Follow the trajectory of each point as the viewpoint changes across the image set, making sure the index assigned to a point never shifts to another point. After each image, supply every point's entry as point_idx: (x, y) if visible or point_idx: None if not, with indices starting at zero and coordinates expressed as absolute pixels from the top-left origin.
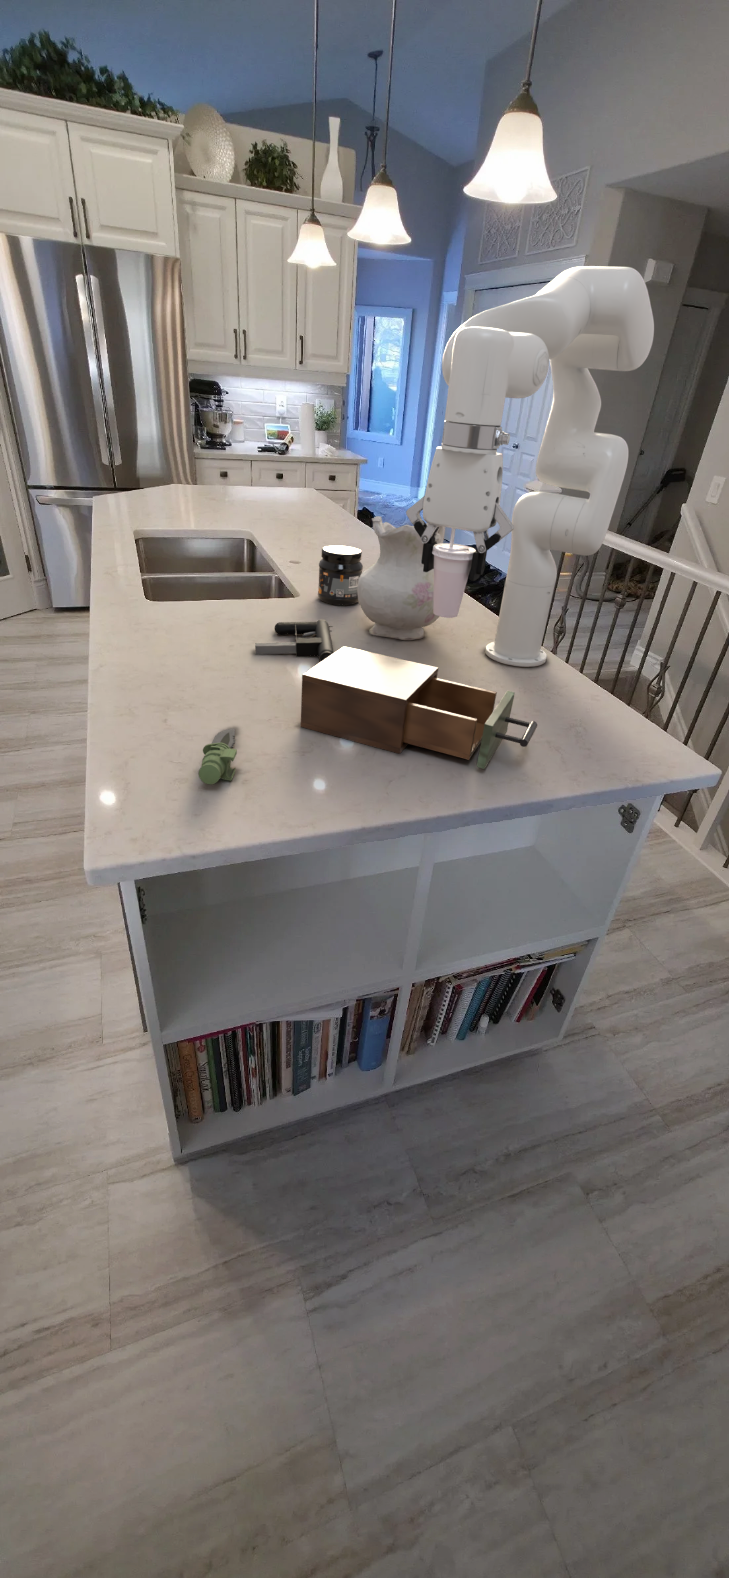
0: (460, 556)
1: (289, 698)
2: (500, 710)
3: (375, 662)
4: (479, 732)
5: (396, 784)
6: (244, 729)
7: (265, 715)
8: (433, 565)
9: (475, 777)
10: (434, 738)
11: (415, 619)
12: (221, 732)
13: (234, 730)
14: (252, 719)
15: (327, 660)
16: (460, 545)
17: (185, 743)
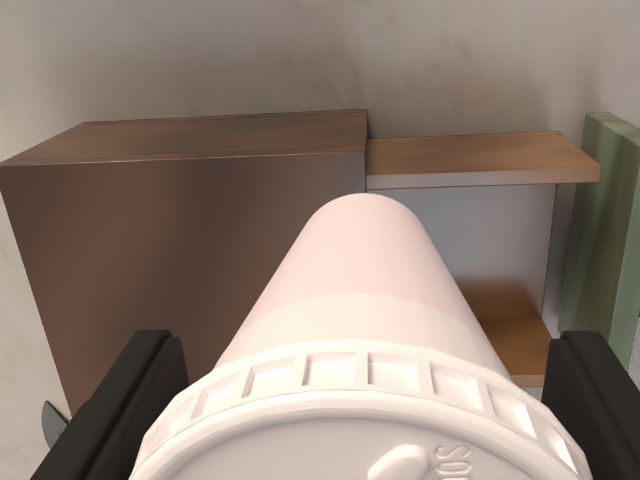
0: None
1: (8, 223)
2: (633, 309)
3: (165, 239)
4: (540, 207)
5: None
6: (59, 391)
7: (40, 324)
8: (175, 374)
9: (556, 336)
10: None
11: None
12: (47, 435)
13: (53, 411)
14: (36, 352)
15: (49, 308)
16: (347, 415)
17: (30, 471)
